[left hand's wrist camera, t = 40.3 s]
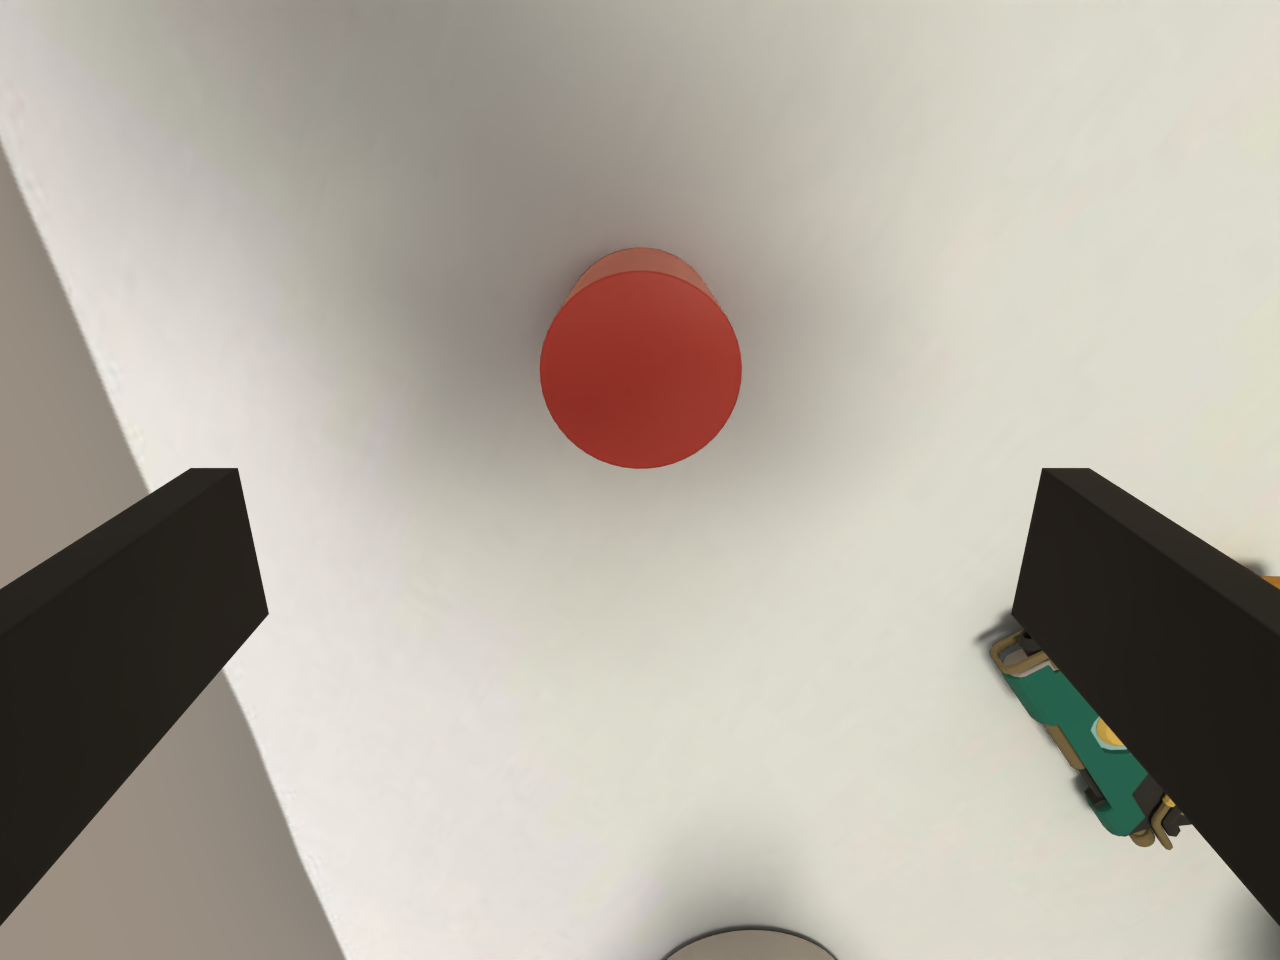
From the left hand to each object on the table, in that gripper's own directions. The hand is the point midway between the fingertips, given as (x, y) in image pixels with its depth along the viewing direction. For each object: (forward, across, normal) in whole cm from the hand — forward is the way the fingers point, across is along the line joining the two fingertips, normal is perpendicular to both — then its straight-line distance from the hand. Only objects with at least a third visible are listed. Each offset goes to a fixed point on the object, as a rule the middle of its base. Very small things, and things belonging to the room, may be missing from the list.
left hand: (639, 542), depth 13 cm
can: (+20, 0, 0) cm, 20 cm away
